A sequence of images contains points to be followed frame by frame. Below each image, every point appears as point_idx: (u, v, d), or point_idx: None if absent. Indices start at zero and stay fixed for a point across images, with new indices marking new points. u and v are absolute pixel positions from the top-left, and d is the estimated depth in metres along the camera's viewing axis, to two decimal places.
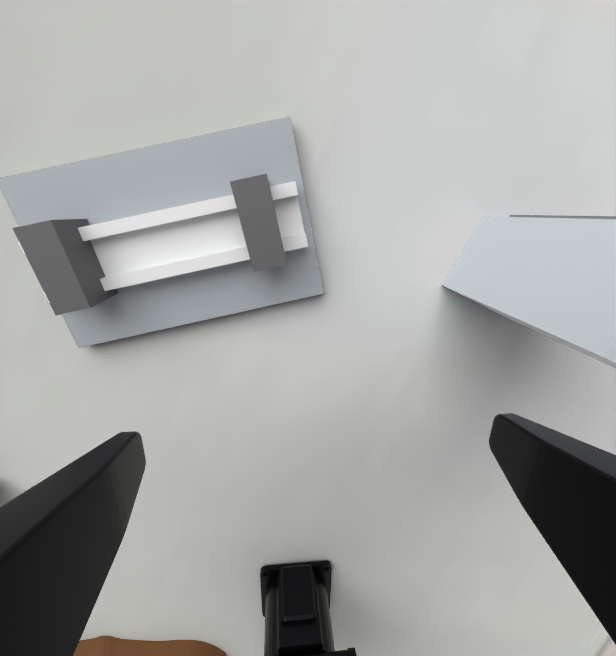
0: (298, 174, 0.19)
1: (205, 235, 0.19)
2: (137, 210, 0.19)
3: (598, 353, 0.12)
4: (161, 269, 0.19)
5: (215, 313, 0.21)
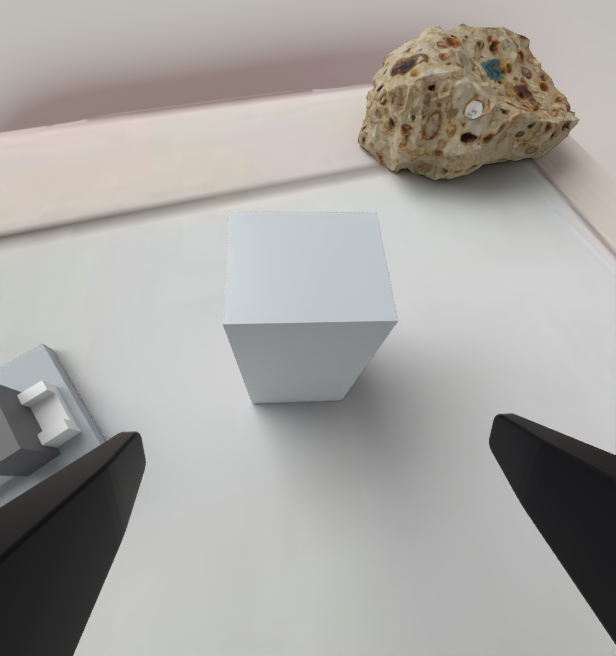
0: (58, 378, 0.21)
1: None
2: None
3: (223, 325, 0.11)
4: None
5: None
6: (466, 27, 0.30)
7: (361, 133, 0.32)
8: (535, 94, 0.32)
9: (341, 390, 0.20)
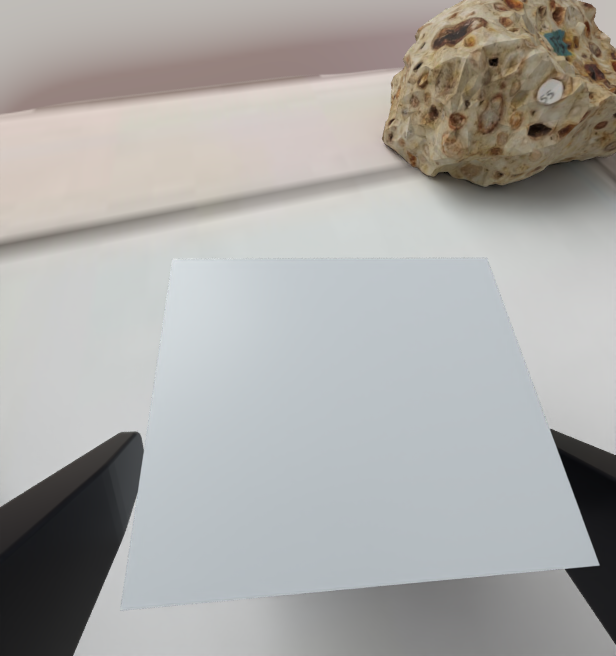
0: None
1: None
2: None
3: None
4: None
5: None
6: None
7: (387, 128, 0.25)
8: (608, 76, 0.25)
9: None
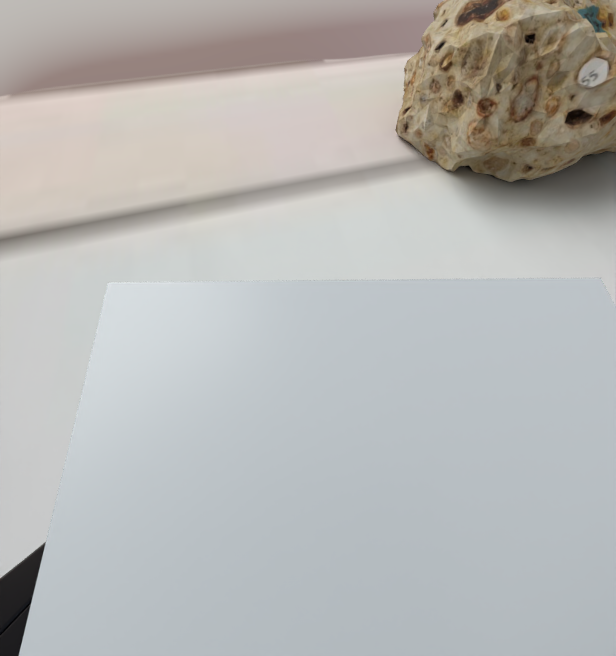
0: None
1: None
2: None
3: None
4: None
5: None
6: None
7: (402, 118, 0.23)
8: None
9: None
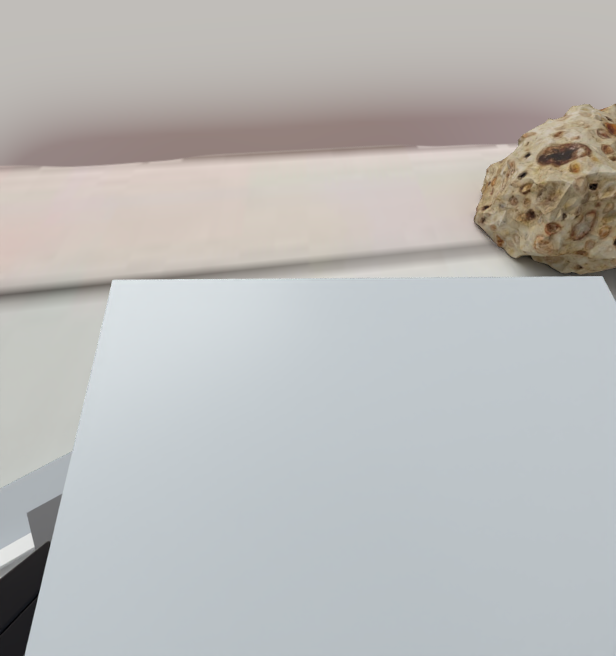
0: None
1: None
2: None
3: None
4: None
5: None
6: None
7: (481, 212, 0.29)
8: None
9: None
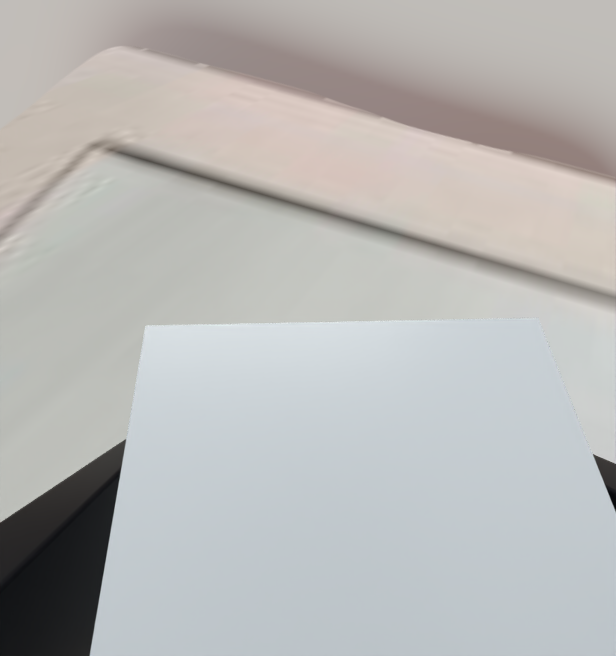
0: None
1: None
2: None
3: None
4: None
5: None
6: None
7: None
8: None
9: None
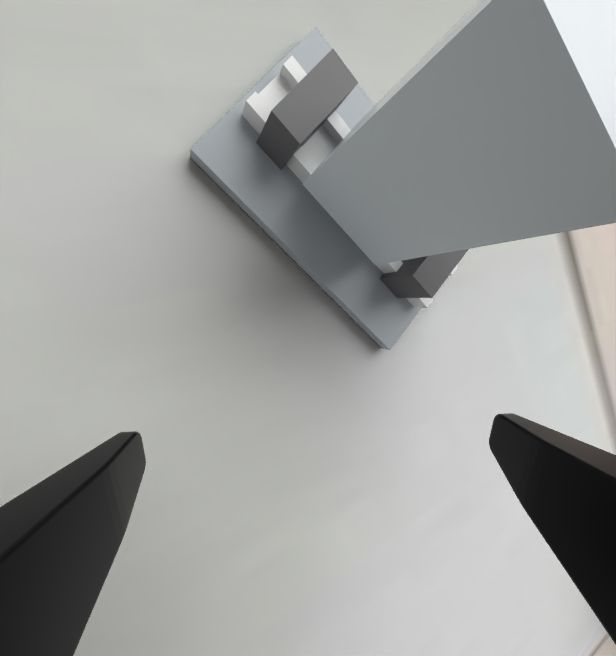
0: None
1: None
2: None
3: None
4: None
5: (318, 271, 0.19)
6: None
7: None
8: None
9: (397, 253, 0.16)
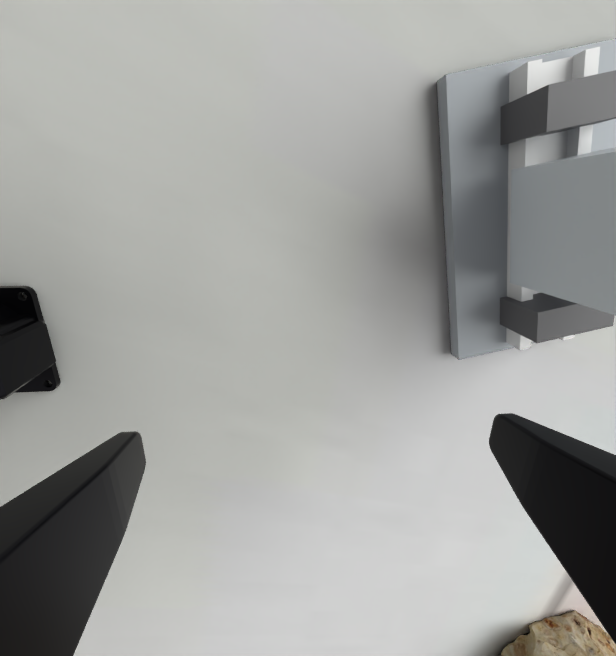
0: None
1: None
2: None
3: None
4: None
5: (458, 253, 0.19)
6: None
7: (585, 626, 0.33)
8: None
9: (545, 284, 0.16)
